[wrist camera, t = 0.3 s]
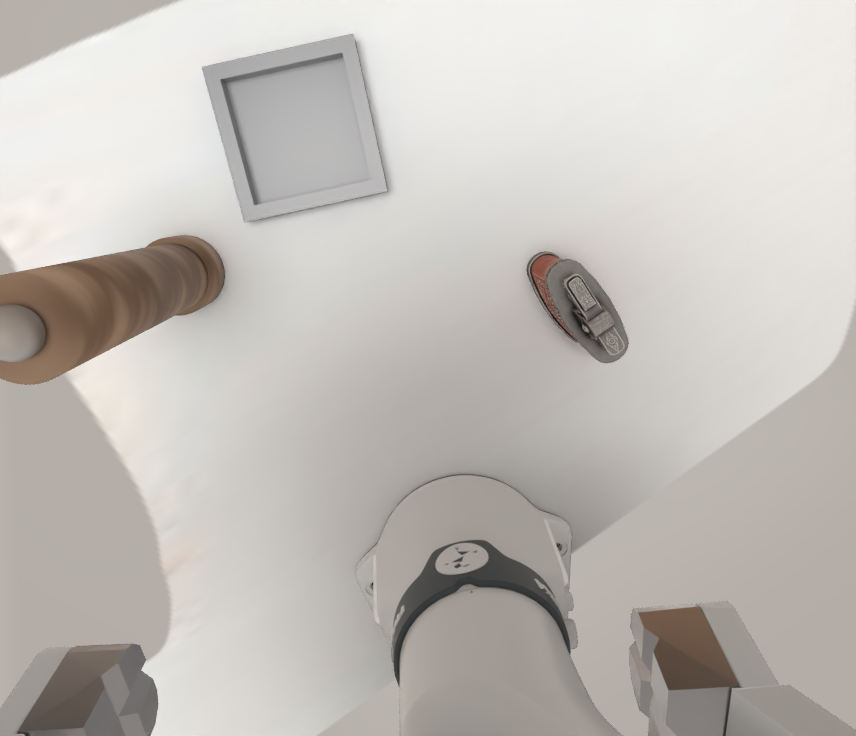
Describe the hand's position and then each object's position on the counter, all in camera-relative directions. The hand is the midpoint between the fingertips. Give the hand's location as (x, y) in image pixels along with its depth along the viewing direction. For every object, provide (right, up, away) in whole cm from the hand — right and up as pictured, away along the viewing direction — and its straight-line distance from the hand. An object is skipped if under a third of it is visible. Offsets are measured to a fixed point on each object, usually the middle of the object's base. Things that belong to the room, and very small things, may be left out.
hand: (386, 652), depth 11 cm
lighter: (+11, +10, +41) cm, 44 cm away
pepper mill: (-18, +12, +39) cm, 45 cm away
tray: (-9, +22, +37) cm, 44 cm away
